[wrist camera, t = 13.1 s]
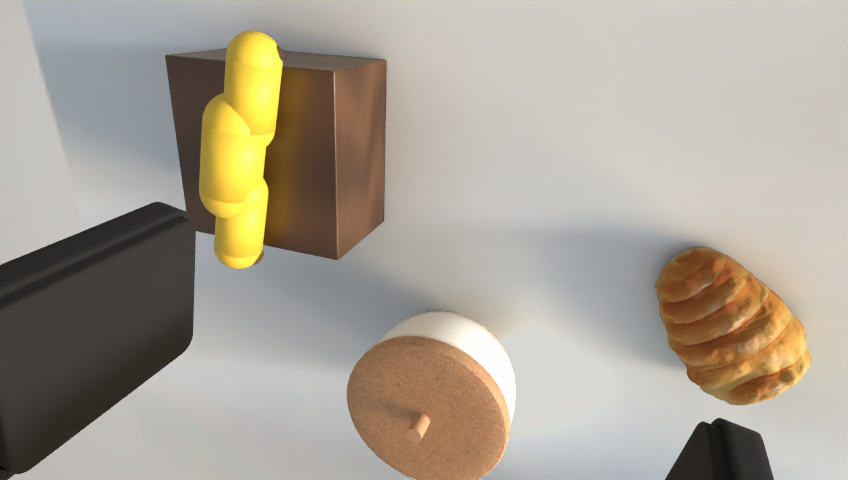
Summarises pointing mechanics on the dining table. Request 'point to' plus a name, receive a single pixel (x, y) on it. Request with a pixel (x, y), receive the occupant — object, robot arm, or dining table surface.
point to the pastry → (730, 328)
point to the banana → (240, 147)
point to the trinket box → (435, 397)
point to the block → (299, 147)
